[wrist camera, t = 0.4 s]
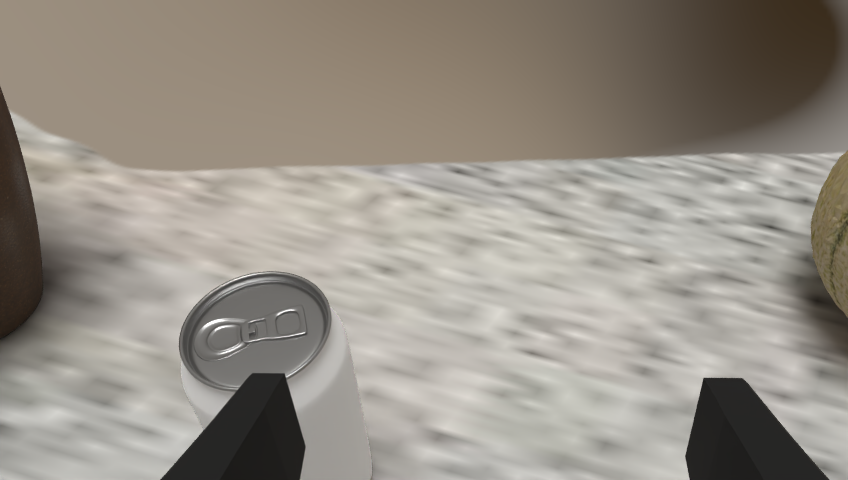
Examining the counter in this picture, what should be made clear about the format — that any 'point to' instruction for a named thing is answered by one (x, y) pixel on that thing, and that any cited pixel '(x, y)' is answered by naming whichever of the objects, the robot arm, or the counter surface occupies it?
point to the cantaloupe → (833, 233)
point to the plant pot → (16, 233)
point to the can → (280, 364)
